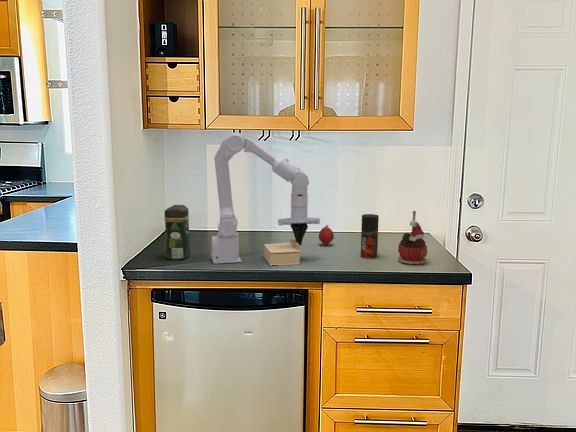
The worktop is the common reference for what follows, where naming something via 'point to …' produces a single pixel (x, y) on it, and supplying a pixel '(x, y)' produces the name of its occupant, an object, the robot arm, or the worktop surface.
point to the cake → (413, 245)
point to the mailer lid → (283, 247)
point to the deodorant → (369, 236)
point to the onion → (326, 235)
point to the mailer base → (282, 258)
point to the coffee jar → (177, 232)
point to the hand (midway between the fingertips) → (298, 244)
